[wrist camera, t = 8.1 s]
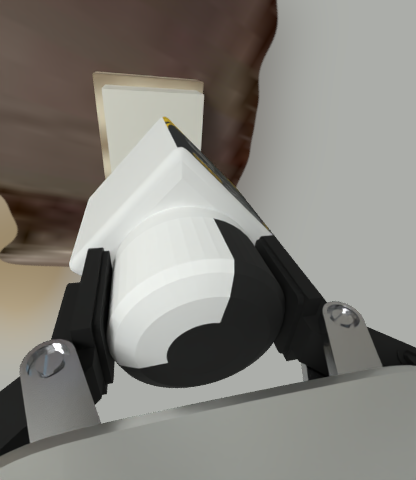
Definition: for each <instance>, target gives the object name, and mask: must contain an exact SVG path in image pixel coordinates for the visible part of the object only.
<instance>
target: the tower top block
mask: <svg viewBox="0 0 416 480" xmlns="http://www.w3.org/2000/svg"><path fill="white" fill-rule="evenodd" d="M102 97H103V106H104V114H105V122H106V131H107V139H108V148H109V156H110V165H111V173H112V172H113V171H114V170H115V168H116V167H117V166H118V165H119V164H120V163H121V162H122V161H123V159H124V158H125V157H126V156H127V155H128V154H129V153H130V151H131V150H132V149H133V148H134V147H135V146H136V145H137V143H138V142H139V141H140V140H141V139H142V138H143V137H144V135H145V134H146V133H147V132H148V131H149V130H150V129H151V128H152V126H153V125H154V124H155V123H156V122H157V121H158V120H159V119H160V118H161V117H167V118H168V119H169V120H170V121H171V122H172V123H173V124H174V125H175V126H176V127H177V128H178V129H179V130H180V131H181V132H182V133H183V134H184V135H185V136H186V137H187V138H188V139H189V140H190V141H191V142H192V143H193V144H194V145H195V146H196V147H197V148H198V149H199V150H200V151H201V140H202V123H203V106H204V94H202V93H200V92H198V91H196V90H184V89H168V88H153V87H137V86H121V85H104V86H103V87H102Z"/></svg>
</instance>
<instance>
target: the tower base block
mask: <svg viewBox="0 0 416 480" xmlns="http://www.w3.org/2000/svg"><path fill="white" fill-rule="evenodd" d="M92 74H93V82H94V90H95V98H96V106H97V114H98V122H99V131H100V139H101V147H102V155H103V163H104V171H105V179H107V178H108V176H109V175H110V174H111V165H110V156H109V148H108V139H107V131H106V122H105V114H104V106H103V97H102V87H103V86H104V85H121V86H137V87H153V88H168V89H184V90H196V91H198V92H200V93H202V94H203V83H204V82H201V81H199V80H193V79H181V78H169V77H157V76H145V75H132V74H120V73H108V72H94V73H92Z"/></svg>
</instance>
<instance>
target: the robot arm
mask: <svg viewBox="0 0 416 480" xmlns="http://www.w3.org/2000/svg"><path fill="white" fill-rule="evenodd" d="M255 248H256V249H257V251H258V252H259V254H260V255H261V257H262V258H263V260H264V262H265V263H266V265H267V266H268V268H269V269H270V271H271V272H272V274H273V275H274V277H275V279H276V280H277V282H278V283H279V285H280V287H281V289H282V291H283V293H284V297H285V314H284V319H283V322H282V326H281V329H280V332H279V334H278V336H277V337H276V339H275V341H274V344H275V346H276V348H277V350H278V352H279V353H283V355H284V357H285V359H286V361H289V360H295V359H298V360H299V362H301V366H302V373H303V381H304V382H300V383H294V384H289V385H285V386H279V387H274V388H270V389H265V390H259V391H255V392H250V393H245V394H240V395H235V396H230V397H225V398H221V399H215V400H211V401H206V402H201V403H196V404H191V405H186V406H182V407H177V408H173V409H167V410H163V411H158V412H153V413H148V414H144V415H139V416H134V417H129V418H125V419H120V420H116V421H111V422H107V423H103V424H101V422H100V419H99V416H98V413H97V411H96V407H95V404H96V403H97V402H98V401H99V400H100V399H101V397H102V395H104V394H107V385H108V384H110V383H113V378H114V362H115V360H114V359H113V357H112V355H111V354H110V352H109V347H108V343H107V336H106V333H107V322H108V311H109V301H110V290H111V279H112V264H111V258H110V252H109V251H104V248H89V249H88V251H87V255H86V259H85V264H84V268H83V272H82V277H81V281H80V282H79V283H69V284H68V285H67V287H66V290H65V293H64V297H63V300H62V304H61V307H60V310H59V315H58V318H57V321H56V324H55V328H54V332H53V335H52V338H51V340H50V341H46V342H43V343H42V344H39V345H38V346H36V347H35V348H33V349H32V350H31V351H30V352H29V353H28V354H27V355H26V356H25V357H24V359H23V361H22V363H21V365H20V377H18V378H17V379H16V380H15V381H13V382H12V383H11V384H9V385H8V386H7V387H6V388H4V389H3V390H2V391H0V480H416V348H415V347H413V346H411V345H409V344H406V343H404V342H402V341H399V340H397V339H394V338H392V337H390V336H387V335H385V334H383V333H380V332H378V331H375V330H373V329H371V328H369V327H367V326H366V324H365V321H364V319H363V317H362V316H361V314H360V313H359V312H358V311H357V310H356V309H354V308H353V307H352V306H350V305H348V304H345V303H341V302H336V301H332V302H328V303H327V302H326V301H325V299H324V298H323V297H322V295H321V294H320V293H319V292H318V290H317V289H316V288H315V287H314V285H313V284H312V283H311V282H310V280H309V279H308V278H307V277H306V275H305V274H304V273H303V271H302V270H301V269H300V268H299V267H298V265H297V264H296V263H295V261H294V260H293V259H292V257H291V256H290V255H289V254H288V252H287V251H286V250H285V249H284V248H283V246H282V245H281V244H280V242H279V241H278V240H277V238H276V237H275V236H274V235H269V236H261V237H260V238H259V239H258V240H256V243H255Z"/></svg>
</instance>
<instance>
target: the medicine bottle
mask: <svg viewBox="0 0 416 480" xmlns="http://www.w3.org/2000/svg"><path fill="white" fill-rule="evenodd" d="M269 235H273V234H272V232H271V231H270V230H269V228H268V227H267V226H266V225H265V223H264V222H263V221H262V220H261V219H260V217H259V216H258V215H257V213H256V212H255V211H254V210H253V208H252V207H251V206H250V205H249V203H248V202H247V201H246V199H245V198H244V197H243V196H242V194H241V193H240V192H239V191H238V189H237V188H236V187H235V186H234V185H233V184H232V183H231V182H230V181H229V180H228V179H227V178H226V177H225V176H224V175H223V174H222V173H221V172H220V171H219V170H218V169H217V168H216V167H215V166H214V165H213V164H212V163H211V162H210V161H209V160H208V159H207V158H206V156H205V155H204V154H203V153H202V152H201V151H200V150H199V149H198V148H197V147H196V146H195V145H194V144H193V143H192V142H191V141H190V140H189V139H188V138H187V137H186V136H185V135H184V134H183V133H182V132H181V131H180V130H179V129H178V128H177V127H176V126H175V125H174V124H173V123H172V122H171V121H170V120H169V119H168V118H167V117H161V118H160V119H159V120H158V121H157V122H156V123H155V124H154V125H153V126H152V128H151V129H150V130H149V131H148V132H147V133H146V134H145V135H144V137H143V138H142V139H141V140H140V141H139V142H138V143H137V145H136V146H135V147H134V148H133V149H132V150H131V151H130V153H129V154H128V155H127V156H126V157H125V158H124V159H123V161H122V162H121V163H120V164H119V165H118V166H117V167H116V168H115V170H114V171H113V172H112V173H111V174H110V175H109V176H108V178H107V179H106V180H105V181H104V182H103V183H102V184H101V186H100V187H99V188H98V189H97V190H96V191H95V192H94V194H93V195H92V196H91V197H90V198H89V200H88V203H87V207H86V210H85V213H84V217H83V220H82V223H81V226H80V230H79V233H78V236H77V240H76V243H75V246H74V249H73V253H72V256H71V259H70V263H69V266H70V269H71V270H72V271H73V272H75V273H77V274H79V275H81V276H82V272H83V268H84V264H85V259H86V255H87V251H88V249H89V248H104V251H109V252H110V258H111V264H112V279H111V290H110V301H109V311H108V322H107V333H106V336H107V343H108V347H109V352H110V354H111V355H112V357H113V359H114V360H115V361H116V362H117V364H118V365H119V366H120V367H121V368H122V369H124V370H125V371H126V372H127V373H128V374H129V375H131V376H132V377H134V378H135V379H137V380H139V381H142V382H144V383H147V384H150V385H154V386H159V387H166V388H187V387H195V386H200V385H206V384H209V383H213V382H216V381H219V380H222V379H225V378H227V377H229V376H232V375H234V374H235V373H238V372H239V371H241V370H243V369H245V368H246V367H248V366H249V365H251V364H252V363H253V362H255V361H256V360H257V359H259V357H261V356H262V355H263V354H264V353H265V352H266V351H267V350H268V349H269V348H270V346H271V345H272V344H273V342H274V341H275V339H276V337H277V336H278V334H279V332H280V329H281V326H282V322H283V319H284V314H285V297H284V293H283V291H282V289H281V287H280V285H279V283H278V282H277V280H276V279H275V277H274V275H273V274H272V272H271V271H270V269H269V268H268V266H267V265H266V263H265V262H264V260H263V258H262V257H261V255H260V254H259V252H258V251H257V249H256V248H255V243H256V240H258V239H259V238H260V237H261V236H269Z"/></svg>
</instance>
